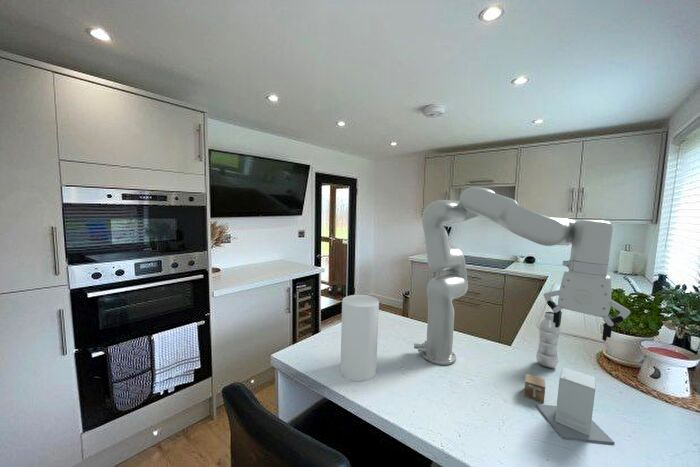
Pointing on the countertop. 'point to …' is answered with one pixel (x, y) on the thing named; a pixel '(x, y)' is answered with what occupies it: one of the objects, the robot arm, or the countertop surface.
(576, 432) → the mat
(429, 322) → the robot arm
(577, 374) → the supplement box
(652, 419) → the countertop surface
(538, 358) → the plastic bottle
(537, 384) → the letter cube
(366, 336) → the cylinder
